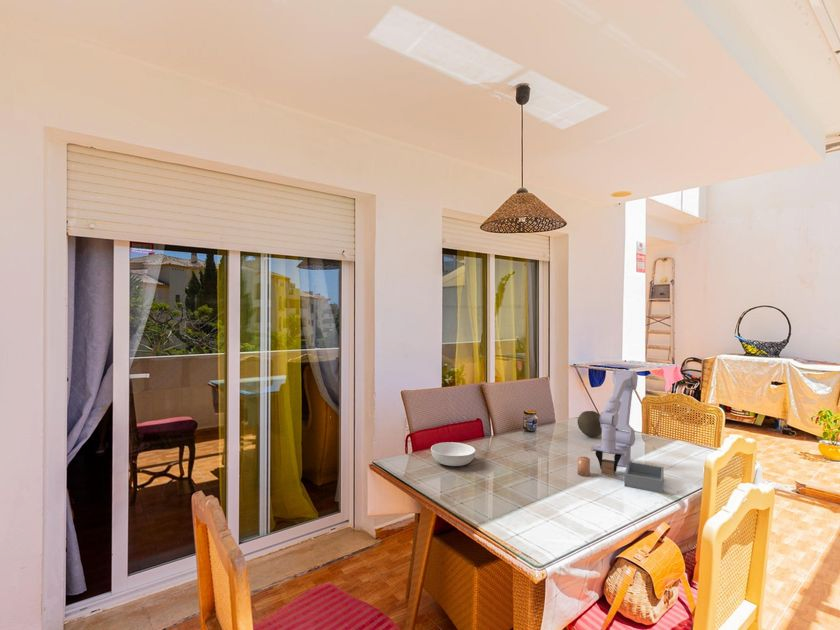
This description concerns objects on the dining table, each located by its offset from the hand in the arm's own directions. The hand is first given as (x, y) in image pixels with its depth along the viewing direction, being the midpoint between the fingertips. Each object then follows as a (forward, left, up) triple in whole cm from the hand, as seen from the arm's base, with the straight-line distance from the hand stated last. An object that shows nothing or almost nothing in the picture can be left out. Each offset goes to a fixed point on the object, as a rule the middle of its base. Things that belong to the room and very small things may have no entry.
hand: (608, 469), depth 191 cm
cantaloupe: (-55, -16, -2) cm, 57 cm away
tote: (+4, +15, -1) cm, 15 cm away
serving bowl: (+26, -64, -2) cm, 69 cm away
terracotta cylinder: (+8, -9, -2) cm, 12 cm away
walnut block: (0, 0, -2) cm, 2 cm away
